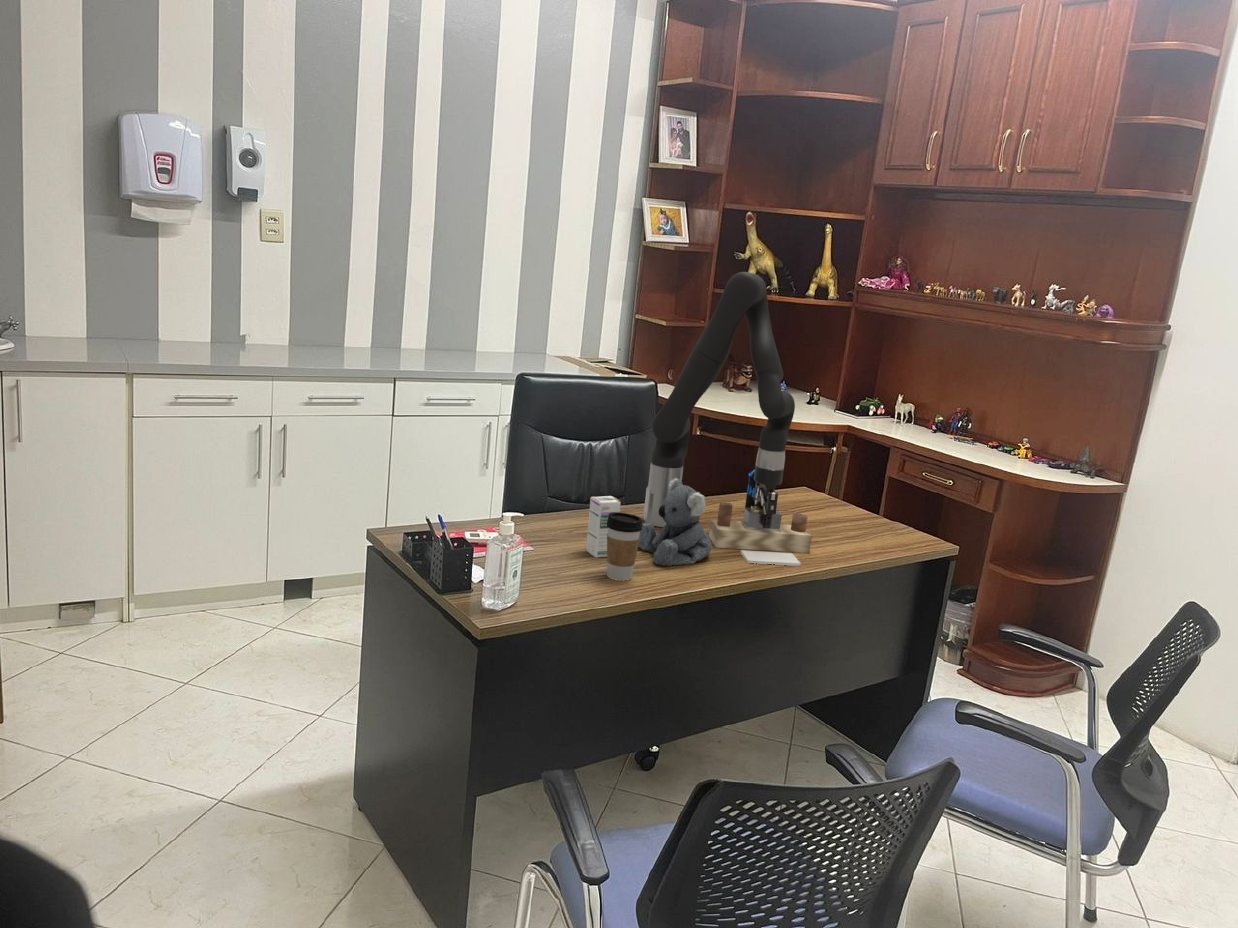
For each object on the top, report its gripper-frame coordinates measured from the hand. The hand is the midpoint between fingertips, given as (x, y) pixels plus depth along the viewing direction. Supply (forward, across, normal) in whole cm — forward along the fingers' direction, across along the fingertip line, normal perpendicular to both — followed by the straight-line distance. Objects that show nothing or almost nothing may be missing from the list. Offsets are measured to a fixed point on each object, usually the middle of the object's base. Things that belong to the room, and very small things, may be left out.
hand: (762, 523), depth 259 cm
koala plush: (+6, +13, -25) cm, 29 cm away
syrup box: (+6, +15, -45) cm, 48 cm away
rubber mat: (+6, +12, 0) cm, 14 cm away
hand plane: (+6, 0, 0) cm, 6 cm away
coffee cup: (+6, +31, -42) cm, 53 cm away
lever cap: (+1, 0, 0) cm, 1 cm away
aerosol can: (+6, -15, +3) cm, 17 cm away
